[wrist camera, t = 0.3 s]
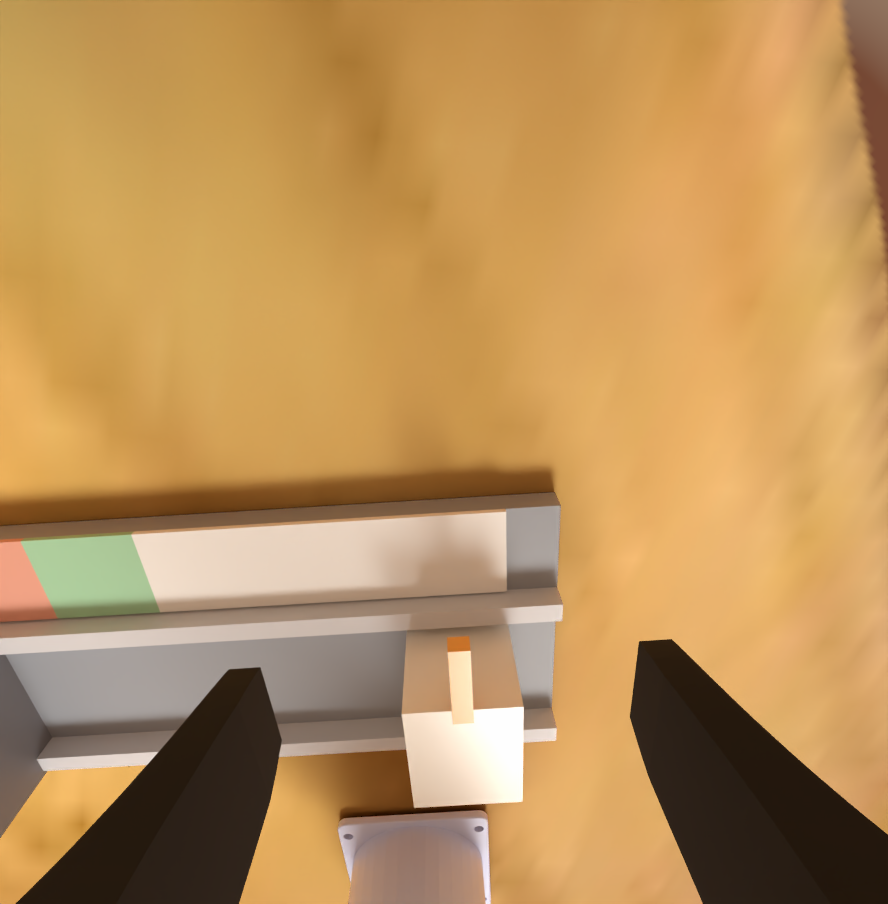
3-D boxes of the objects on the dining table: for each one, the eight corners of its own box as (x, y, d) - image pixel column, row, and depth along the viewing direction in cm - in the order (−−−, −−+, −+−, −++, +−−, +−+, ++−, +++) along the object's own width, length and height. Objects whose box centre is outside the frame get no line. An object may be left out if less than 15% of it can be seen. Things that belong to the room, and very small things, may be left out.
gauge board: (546, 711, 24) (572, 824, 20) (47, 740, 24) (-42, 861, 20) (554, 492, 19) (593, 576, 15) (-74, 530, 19) (-231, 626, 15)
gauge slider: (507, 706, 22) (523, 804, 18) (417, 712, 22) (414, 810, 18) (506, 564, 19) (524, 647, 15) (400, 570, 19) (393, 655, 15)
